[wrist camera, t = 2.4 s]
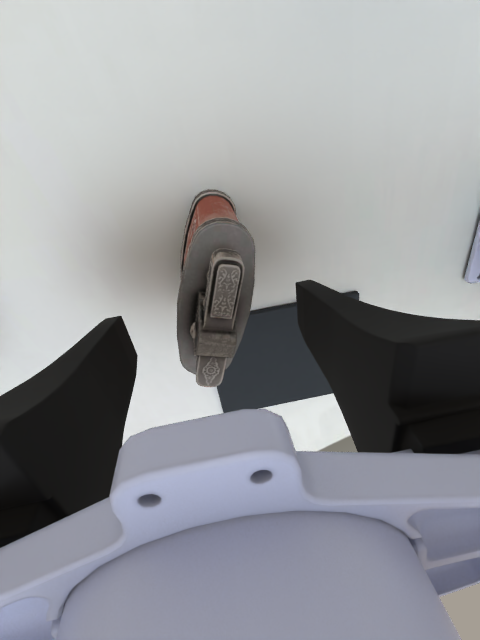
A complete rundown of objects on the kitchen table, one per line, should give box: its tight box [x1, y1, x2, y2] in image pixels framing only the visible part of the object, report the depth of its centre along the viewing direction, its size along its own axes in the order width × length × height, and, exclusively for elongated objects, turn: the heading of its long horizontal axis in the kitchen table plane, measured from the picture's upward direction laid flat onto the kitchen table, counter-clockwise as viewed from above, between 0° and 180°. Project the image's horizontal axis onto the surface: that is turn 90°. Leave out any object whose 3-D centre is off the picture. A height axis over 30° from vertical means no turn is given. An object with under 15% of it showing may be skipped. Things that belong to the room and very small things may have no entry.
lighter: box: [177, 190, 255, 387], centre depth 17 cm, size 8×3×10 cm, turn 170°
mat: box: [217, 291, 359, 413], centre depth 26 cm, size 12×10×1 cm
